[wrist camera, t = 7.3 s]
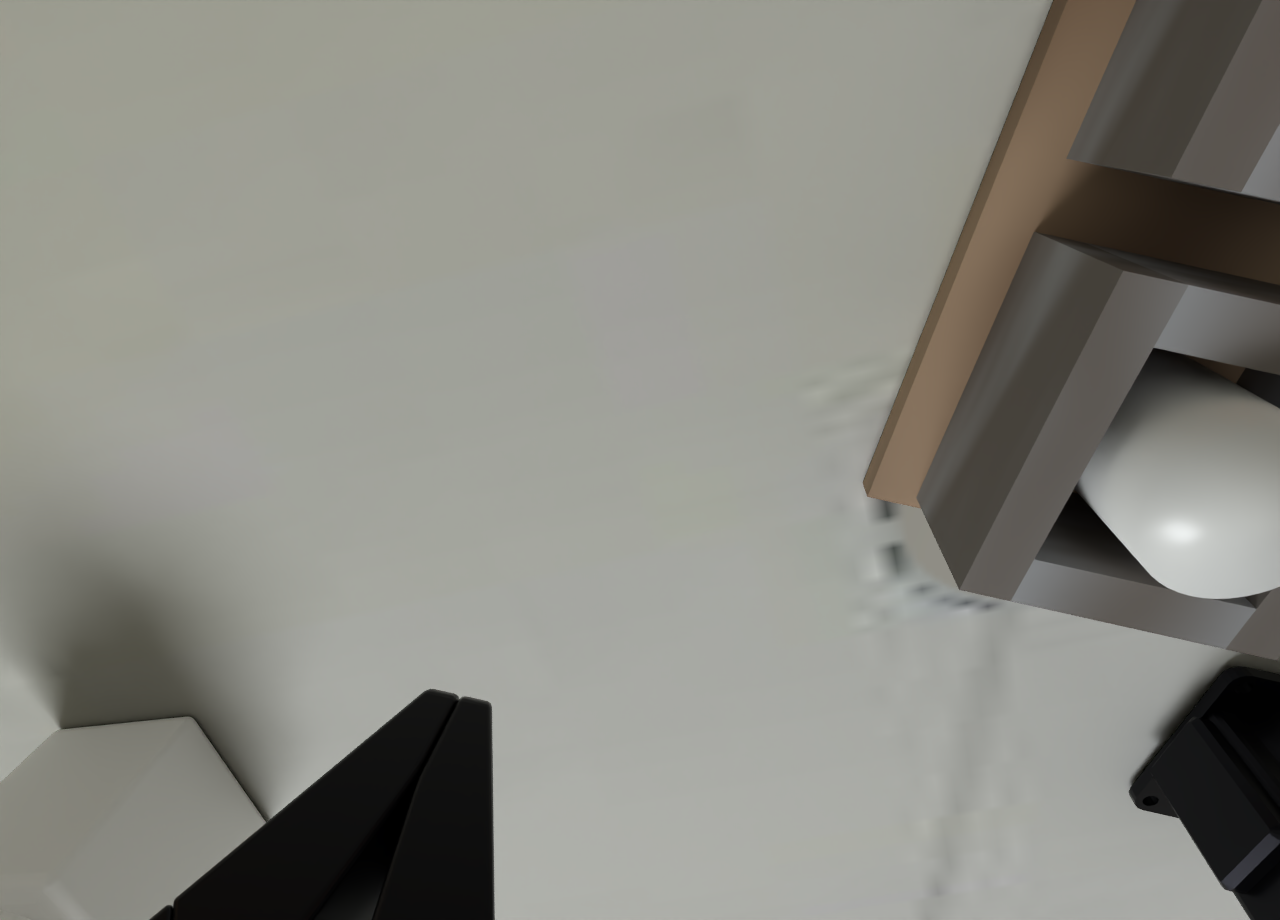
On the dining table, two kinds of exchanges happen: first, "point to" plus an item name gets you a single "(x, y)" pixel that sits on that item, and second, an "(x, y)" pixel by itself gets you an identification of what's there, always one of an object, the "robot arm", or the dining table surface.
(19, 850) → the medicine bottle
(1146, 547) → the white short rounded cylinder
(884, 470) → the double box holder
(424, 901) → the robot arm
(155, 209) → the dining table surface
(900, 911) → the dining table surface
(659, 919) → the dining table surface
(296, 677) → the dining table surface
